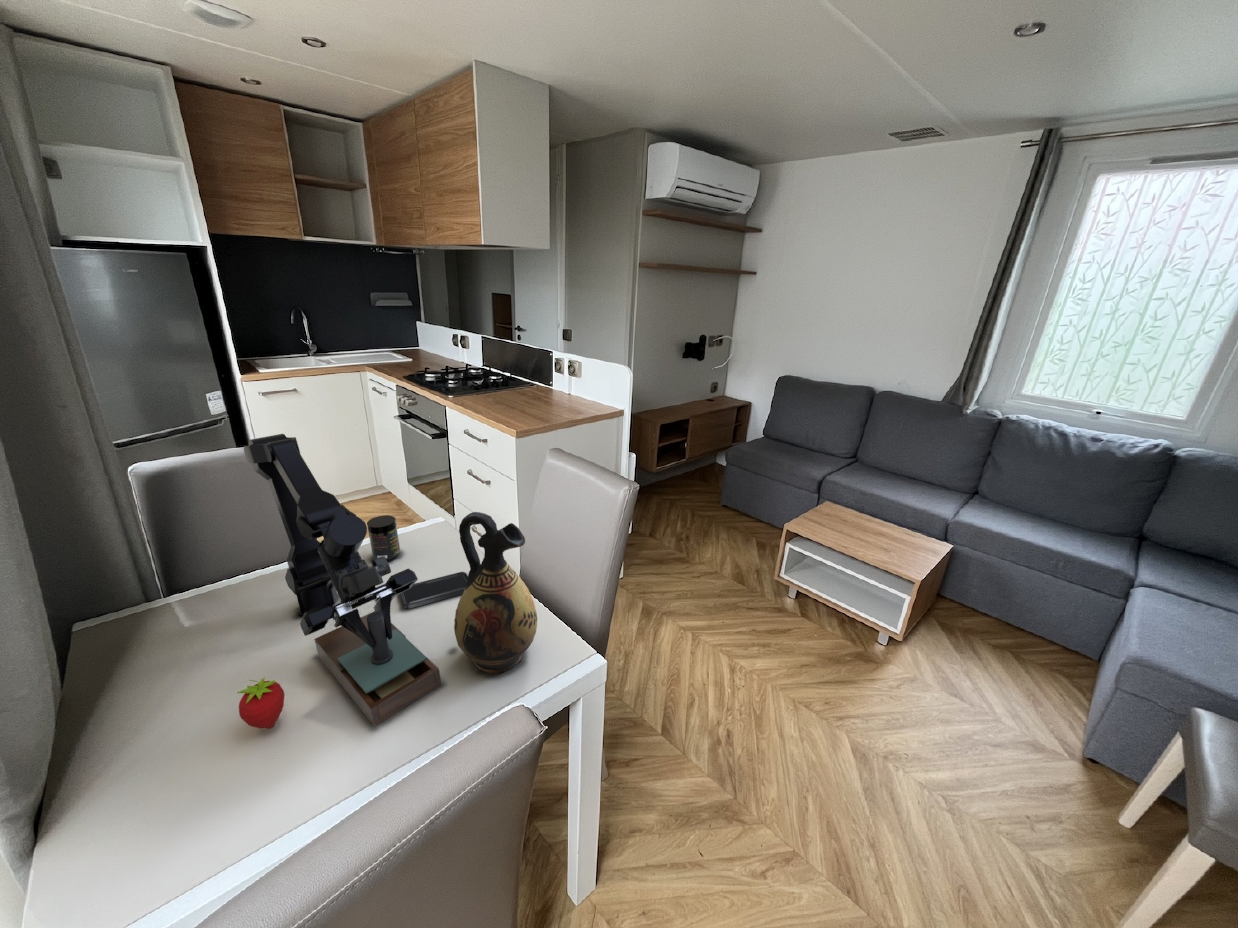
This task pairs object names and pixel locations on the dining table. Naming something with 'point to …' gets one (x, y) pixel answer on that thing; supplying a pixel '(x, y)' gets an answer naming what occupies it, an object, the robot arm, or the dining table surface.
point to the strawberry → (261, 704)
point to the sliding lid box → (386, 696)
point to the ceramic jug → (493, 600)
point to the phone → (434, 590)
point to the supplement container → (384, 537)
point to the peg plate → (381, 656)
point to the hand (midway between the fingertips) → (382, 643)
